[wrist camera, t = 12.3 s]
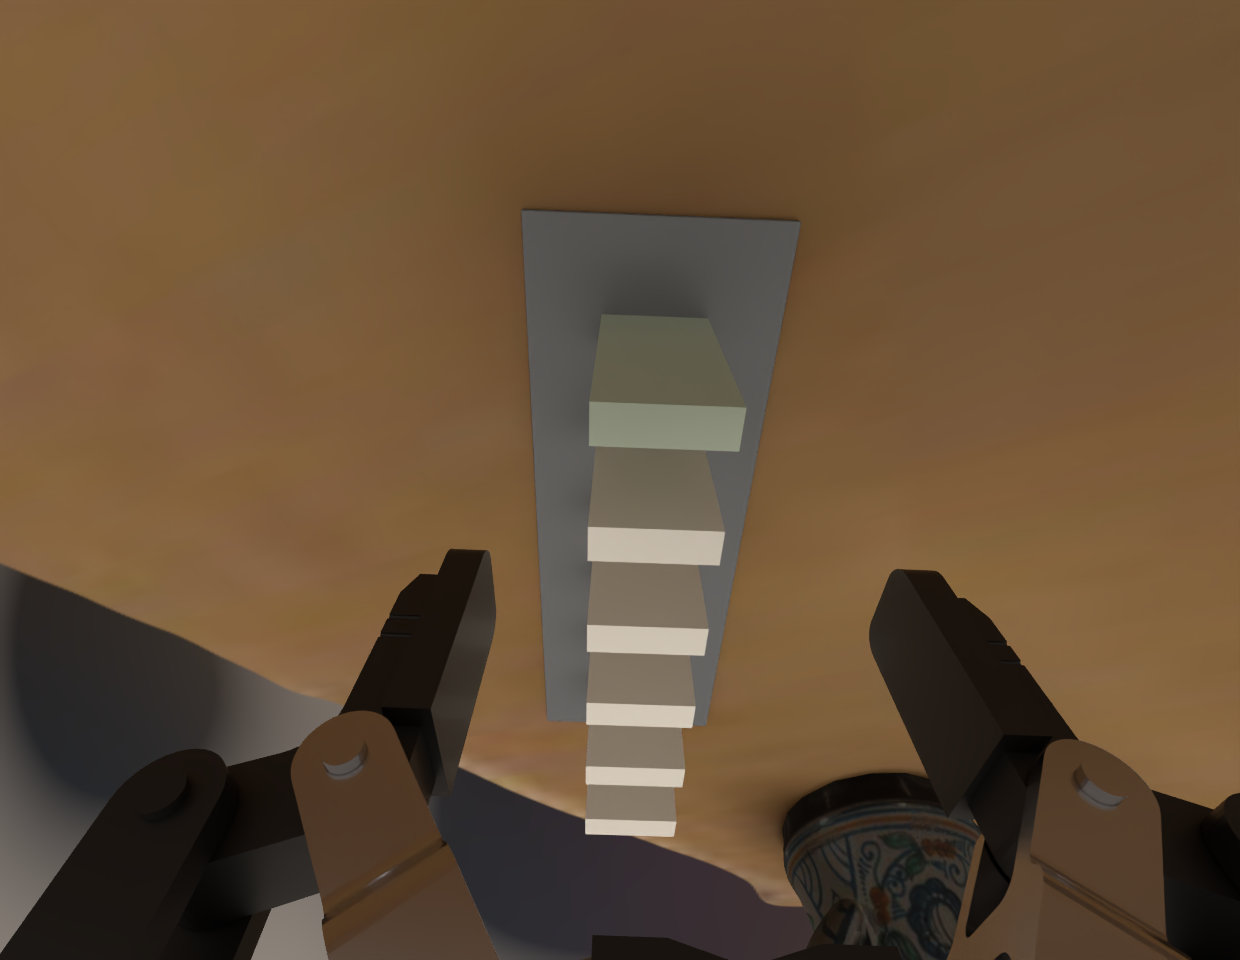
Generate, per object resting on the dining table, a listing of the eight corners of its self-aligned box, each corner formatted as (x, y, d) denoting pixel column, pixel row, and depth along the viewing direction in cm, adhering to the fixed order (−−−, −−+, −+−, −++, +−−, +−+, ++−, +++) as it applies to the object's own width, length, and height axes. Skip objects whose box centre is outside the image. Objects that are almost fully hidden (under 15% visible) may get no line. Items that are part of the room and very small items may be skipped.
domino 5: (595, 619, 37) (585, 766, 28) (671, 622, 37) (685, 769, 28) (595, 636, 38) (585, 784, 29) (669, 639, 38) (681, 787, 29)
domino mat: (523, 209, 24) (521, 210, 24) (798, 220, 25) (801, 222, 24) (548, 714, 43) (547, 720, 43) (705, 720, 43) (705, 725, 43)
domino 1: (601, 314, 26) (589, 401, 18) (708, 318, 26) (746, 407, 18) (600, 347, 27) (588, 446, 19) (704, 351, 27) (739, 451, 19)
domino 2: (599, 410, 29) (588, 526, 20) (696, 414, 29) (725, 531, 20) (598, 438, 30) (587, 560, 21) (693, 441, 30) (719, 565, 21)
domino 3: (598, 491, 32) (587, 624, 23) (686, 495, 32) (708, 629, 23) (597, 515, 32) (586, 651, 24) (684, 518, 32) (704, 655, 24)
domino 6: (594, 670, 39) (585, 818, 31) (665, 673, 40) (676, 821, 31) (594, 685, 40) (585, 833, 32) (664, 688, 40) (673, 836, 32)
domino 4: (596, 560, 34) (586, 702, 26) (678, 563, 34) (695, 706, 26) (596, 580, 35) (586, 724, 27) (676, 583, 35) (692, 728, 27)
